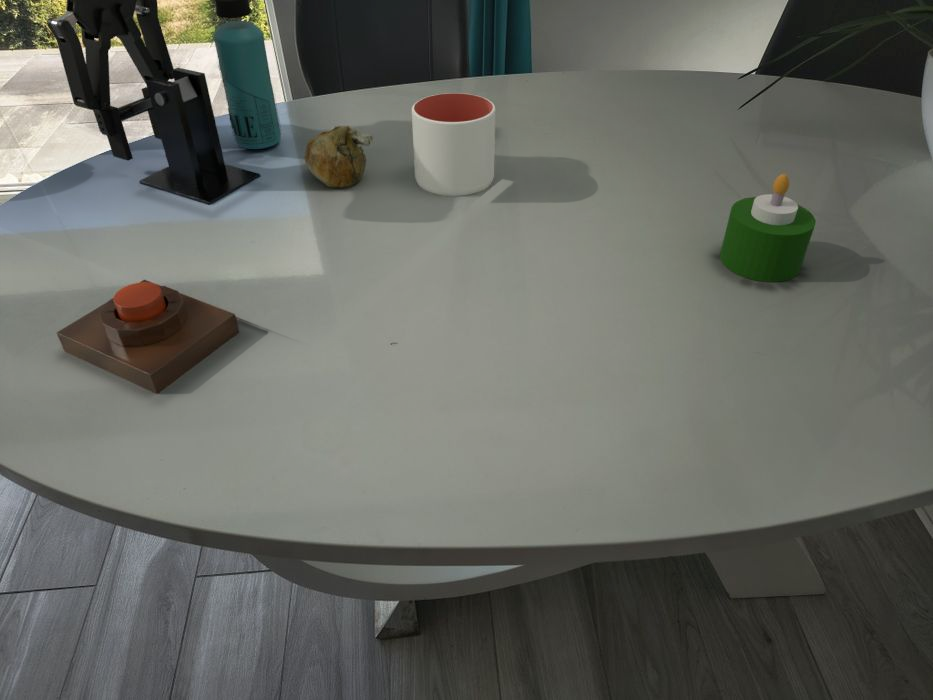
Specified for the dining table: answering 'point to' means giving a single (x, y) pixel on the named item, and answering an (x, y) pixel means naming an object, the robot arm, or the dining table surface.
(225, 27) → the beverage bottle
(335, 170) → the onion
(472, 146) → the cup
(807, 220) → the candle
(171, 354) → the button block
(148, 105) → the lever
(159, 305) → the button
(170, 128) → the bracket
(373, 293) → the dining table surface
